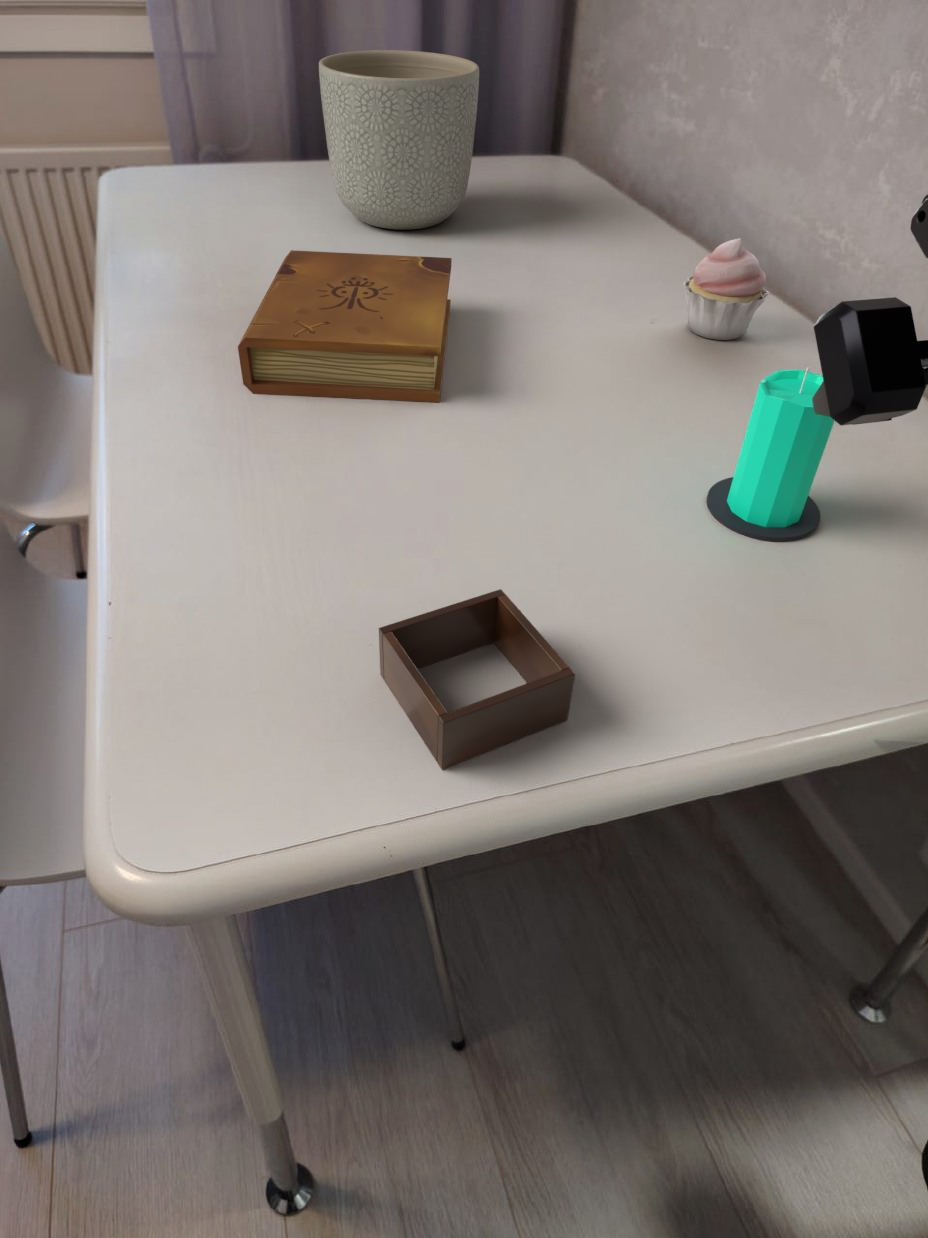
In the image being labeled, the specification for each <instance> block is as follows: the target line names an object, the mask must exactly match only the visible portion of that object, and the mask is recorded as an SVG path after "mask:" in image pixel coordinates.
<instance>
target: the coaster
mask: <svg viewBox="0 0 928 1238" xmlns="http://www.w3.org/2000/svg"><path fill="white" fill-rule="evenodd" d="M733 477H734V476H731V477H725V478H724V479H721V480H719V481H717V482H716V483H714V484H713V485H712V486H711V487H710V489H709V490H708V492H707V495H706V506H707V509H708V511H709V513H710V514H711V515H712V517H713V518H714V519H715V520H716V521H718V522H719V523H720V524H721V525H723V526H724V527H725V528H727V529H729V530H731V531H733V532H735V533H738V534H740V535H743V536H745V537H748V538H752V539H755V540H756V539H757V540H759V541H766V542H793V541H797V540H800V539H804V538H806V537H808V536H810V535H812V534H813V533H814V532H815V531H816V530H817V528H818V527H819V524H820V521H821V512H820V509H819V506H818V505H817V503H816V502H815V501H814V500H813V499H812V498H811V496H809V495H808V497H807V500H806V503H805V506H804V509H803V511H802V514H801V517H800V519H799V522H797V523H794V524H792V525H789V526H787V527H763V526H760V525H756V524H753V523H750V522H746V521H745V520H743V519H742V518H740V517H739V516H737V515H736V514H734V513H733V512H732V511H731V509H730V507H729V505H728V503H727V498H728V495H729V491H730V488H731V484H732V481H733Z"/></svg>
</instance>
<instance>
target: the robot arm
mask: <svg viewBox="0 0 928 1238" xmlns="http://www.w3.org/2000/svg"><path fill="white" fill-rule="evenodd" d="M910 232H911V235H912V236H913V238H914V239H915V241H916V243H917V245H918V246H919V248H920V250H921V252H922V253H923V255H924V257H925V258H926V259H928V193H927V194H926V195H925V196H924V197H923V199H922V201H921V205H920V207H918V209H917V210H916V212H915V213H914V214H913V216H912V218H911V221H910ZM813 331H814V336H815V342H816V347H817V353H818V360H819V363H820V369H821V375H822V376H823V380H824V381H823V382H822V384H821V385H820V387H819V388H818V390H817V391H816V393H815V394H814V396H813V398H812V402H813V408H814V412H815V414H817V415H823V416H828V417H831V418H832V419H834V420H835V421H834V422H836V423H837V424H838V425H839V426H849V425H851V426H852V425H853V426H854V425H856V426H857V425H863V424H872V423H880V422H881V423H882V422H889V421H892V419H894V418H899V417H902V416H905V415H907V414H910V413H912V412H914V411H916V410H918V408H919V406H920V403H921V400H922V398H923V395H924V393H925V391H926V388H928V339H924V340H918V338H917V337H918V336H917V332H916V326H915V320H914V316H913V310H912V306H911V305H909V304H908V303H906V302H904V301H903V300H902V299H899V298H898V297H896V296H894V297H882V298H870V299H869V298H868V299H867V298H866V299H857V300H856V299H853V300H842V301H840V302H839V303H837V304H836V305H835V306H833V307H831V308H830V309H828V310H827V311H826V312H824V313H823V314H821V315H820V316H819V318H818V319H817V320H816V322H815V324H814V325H813Z"/></svg>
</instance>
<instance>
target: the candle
mask: <svg viewBox="0 0 928 1238" xmlns="http://www.w3.org/2000/svg"><path fill="white" fill-rule="evenodd" d="M809 370H810V367H809V366H807V367H806V370H804V369H799V368H798V369H797V368H796V369H795V368H793V369H778V370H776V371H775V372H773V373H771V374H769V375H768V376H765V377H764V378H762V380H760V382H759V385H758V388H757V391H756V395H755V398H754V403H753V405H752V410H751V413H750V416H749V420H748V424H747V427H746V431H745V435H744V438H743V441H742V445H741V449H740V451H739V456H738V459H737V463H736V466H735V470H734V474H733V476H732V477H733V481H732V484H731V488H730V491H729V495H728V498H727V503H728V505H729V507H730V509H731V511H732V512H733V513H734V514H736V515H737V516H739V517H740V518H742V519H743V520H745V521H746V522H750V523H753V524H756V525H760V526H763V527H787V526H789V525H792V524H794V523H797V522H799V519H800V517H801V514H802V511H803V509H804V506H805V503H806V500H807V497H808V496H809V494H810V491H811V489H812V486H813V483H814V480H815V477H816V474H817V472H818V469H819V466H820V463H821V461H822V457H823V455H824V452H825V449H826V446H827V444H828V440H829V438H830V435H831V432H832V429H833V426H834V424H835V422H836V421H835V420H834V419H832V418H831V417H828V416H823V415H817V414H815V412H814V408H813V402H812V398H813V396H814V394H815V393H816V391H817V390H818V388H819V387H820V385H821V384H822V382H823V381H824V380H823V375H822V374H819V373H816V372H815V373H814V372H811V371H809Z"/></svg>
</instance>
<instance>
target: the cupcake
mask: <svg viewBox="0 0 928 1238" xmlns="http://www.w3.org/2000/svg"><path fill="white" fill-rule="evenodd" d="M766 283H767V276H766V273H765V271H764V270H762V269H761V266H760V262H759V260H758V258H757V257H755V255H754V254H752V253H751V252H750V251H749V250H748V249H746V248H745V247H743V241H742V238H740V237H738V238H735V239H730V240H727V241H725V242H723V243H721V244H719V245H718V246H717V247H715V249H713V251H712V252H711V254H709V255H707V256H704V257H703V259H702V260H701V261H700V262H699V263H698V265H697V266H696V268H695V269H694V272H693V275H690V276H688V277H687V280H686V281H683V288H684V292H685V298H686V308H687V309H686V310H687V326H688V329H689V330H690V331H691V332H692V333H694V334H695V335H698V336H699V337H702V338H706V339H710V340H716V341H729V340H730V341H732V340H737V339H738V338H741V337H742V336H743V335H744V334H745V333H746V331H747V329H748V327H749V325H750V323H751V321H752V318H753V316H754V314H755V313H756V311H757V310H758V309H759V307H760V306H762V304H763V303H764V302H765V301H766V299H767V297H768V295H770V293H771V291H768V290H766V289H764V288H765V286H766Z"/></svg>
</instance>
